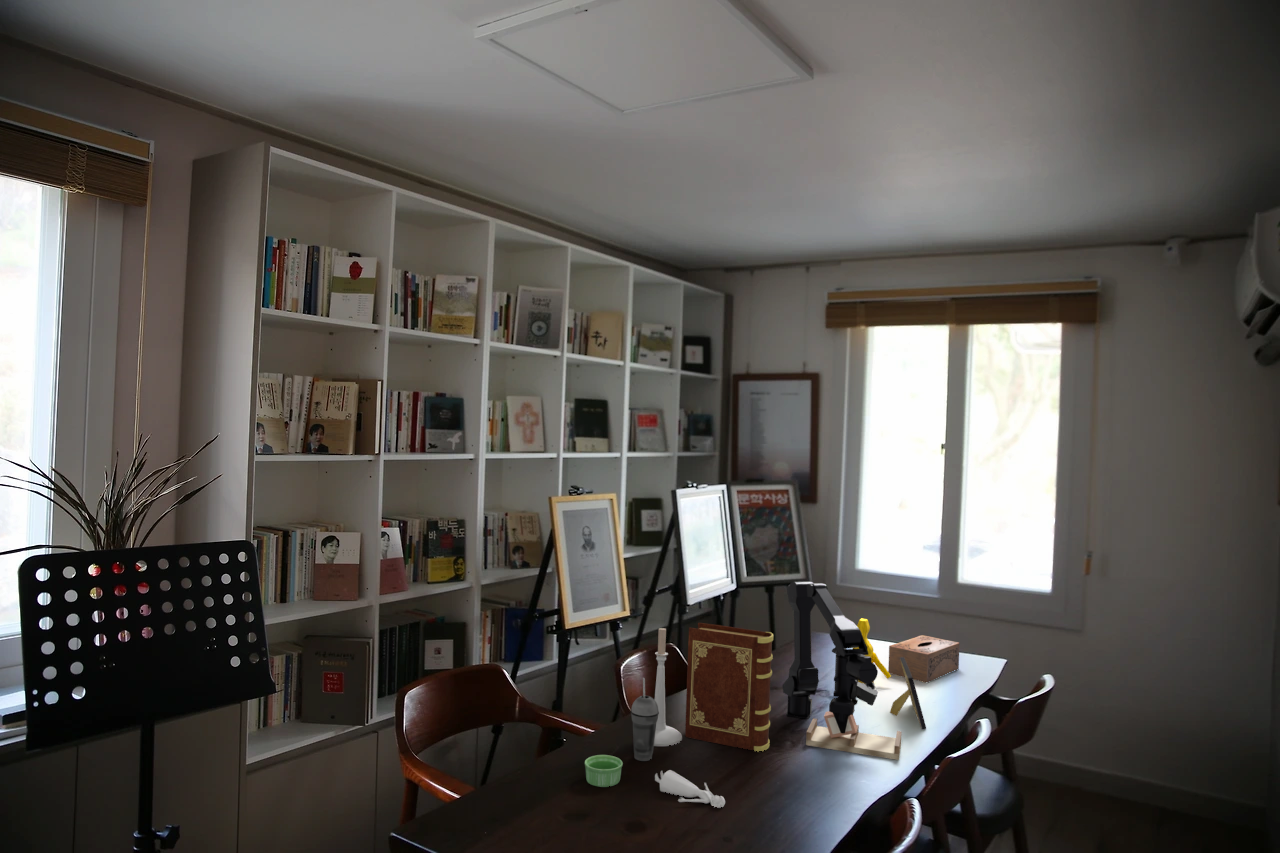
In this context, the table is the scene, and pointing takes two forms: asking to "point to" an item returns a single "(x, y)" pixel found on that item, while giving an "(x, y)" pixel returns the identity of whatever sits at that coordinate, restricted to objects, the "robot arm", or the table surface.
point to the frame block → (834, 727)
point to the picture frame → (913, 695)
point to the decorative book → (729, 686)
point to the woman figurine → (687, 789)
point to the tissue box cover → (924, 657)
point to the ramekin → (603, 770)
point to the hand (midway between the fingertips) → (843, 730)
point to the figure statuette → (870, 647)
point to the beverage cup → (644, 725)
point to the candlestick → (663, 699)
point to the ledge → (855, 742)
